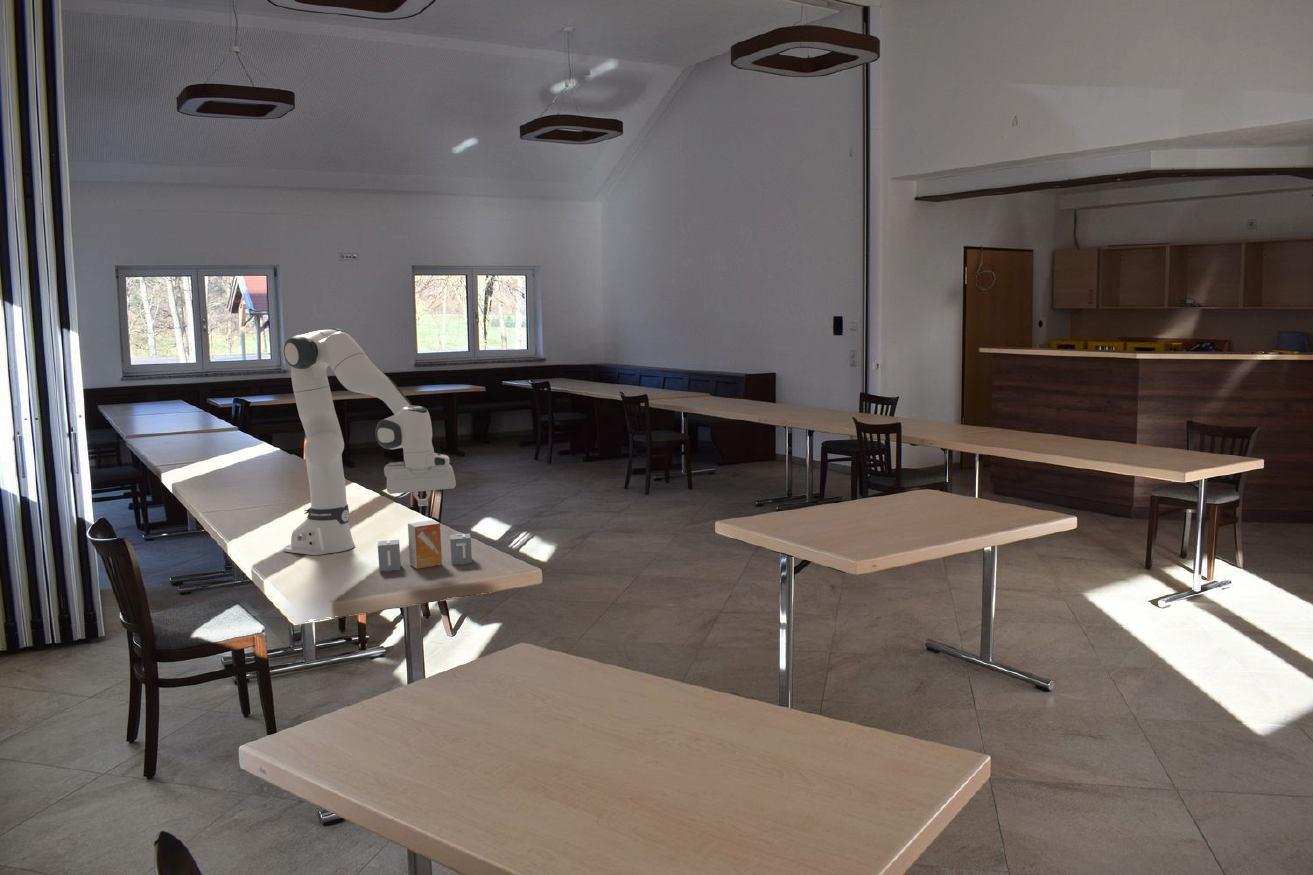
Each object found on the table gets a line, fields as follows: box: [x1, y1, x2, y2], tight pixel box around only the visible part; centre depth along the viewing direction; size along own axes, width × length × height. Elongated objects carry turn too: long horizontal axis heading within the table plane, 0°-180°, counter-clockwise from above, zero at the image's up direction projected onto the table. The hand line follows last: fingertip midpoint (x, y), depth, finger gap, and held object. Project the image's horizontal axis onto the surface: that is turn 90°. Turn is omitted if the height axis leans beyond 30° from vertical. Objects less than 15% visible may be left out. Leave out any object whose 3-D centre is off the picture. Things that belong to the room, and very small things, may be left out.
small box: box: [407, 519, 443, 570], centre depth 294 cm, size 8×6×13 cm
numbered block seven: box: [449, 533, 473, 565], centre depth 296 cm, size 6×6×8 cm
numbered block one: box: [377, 539, 402, 573], centre depth 291 cm, size 6×6×8 cm
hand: (423, 505), depth 292 cm, fingers closed
